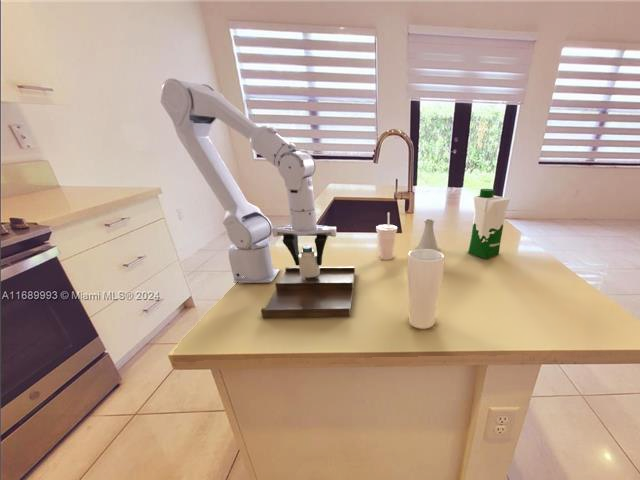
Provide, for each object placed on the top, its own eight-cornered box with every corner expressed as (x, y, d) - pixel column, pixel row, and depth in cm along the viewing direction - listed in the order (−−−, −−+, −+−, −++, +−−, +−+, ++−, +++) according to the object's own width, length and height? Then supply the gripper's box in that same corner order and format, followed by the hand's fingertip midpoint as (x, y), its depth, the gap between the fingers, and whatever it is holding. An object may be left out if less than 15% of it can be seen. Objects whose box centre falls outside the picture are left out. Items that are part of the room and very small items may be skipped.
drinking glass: (428, 336, 61) (434, 264, 54) (399, 325, 64) (401, 255, 57) (443, 320, 66) (450, 253, 59) (415, 311, 69) (419, 246, 62)
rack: (262, 318, 65) (260, 306, 64) (287, 276, 84) (285, 267, 82) (349, 316, 66) (349, 305, 65) (355, 276, 85) (354, 266, 84)
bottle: (298, 277, 77) (294, 250, 74) (302, 269, 81) (299, 244, 78) (318, 277, 77) (315, 250, 74) (321, 269, 82) (318, 244, 78)
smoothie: (394, 262, 95) (395, 215, 88) (373, 260, 96) (373, 214, 89) (398, 255, 100) (399, 210, 94) (379, 253, 101) (379, 209, 95)
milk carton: (480, 247, 109) (489, 187, 99) (503, 255, 102) (514, 191, 93) (464, 252, 104) (471, 189, 94) (486, 260, 97) (496, 194, 88)
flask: (441, 249, 106) (444, 219, 102) (432, 255, 101) (434, 224, 96) (423, 245, 110) (424, 216, 105) (412, 250, 104) (414, 220, 99)
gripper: (264, 212, 68) (274, 270, 74) (332, 213, 69) (336, 270, 75) (273, 205, 74) (282, 259, 80) (335, 206, 75) (339, 259, 81)
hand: (308, 263), depth 78 cm, fingers closed on bottle, 5 cm apart
